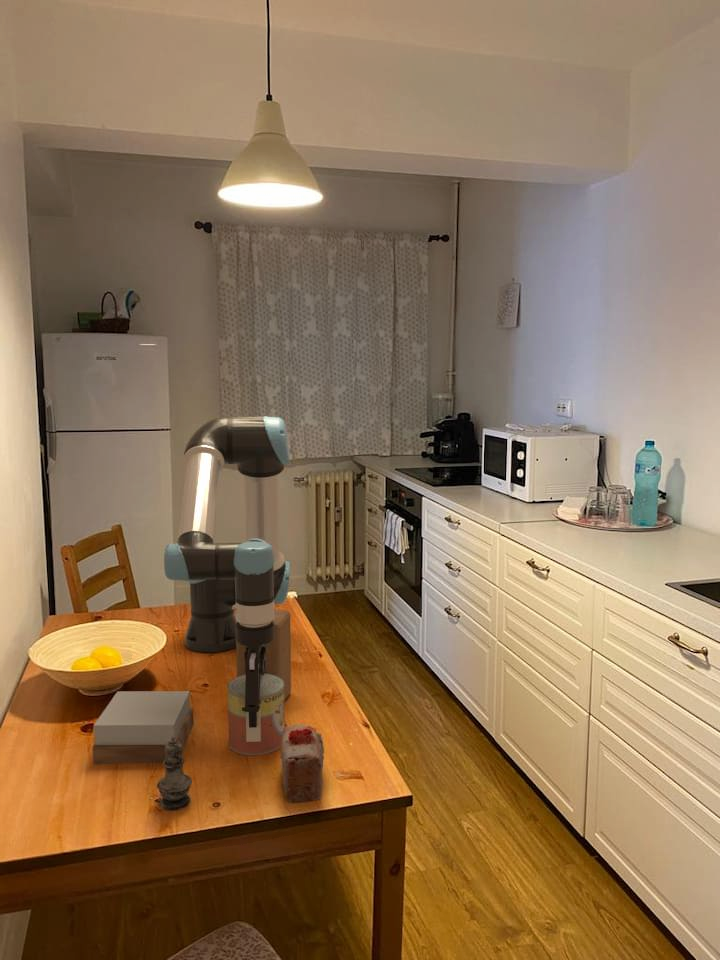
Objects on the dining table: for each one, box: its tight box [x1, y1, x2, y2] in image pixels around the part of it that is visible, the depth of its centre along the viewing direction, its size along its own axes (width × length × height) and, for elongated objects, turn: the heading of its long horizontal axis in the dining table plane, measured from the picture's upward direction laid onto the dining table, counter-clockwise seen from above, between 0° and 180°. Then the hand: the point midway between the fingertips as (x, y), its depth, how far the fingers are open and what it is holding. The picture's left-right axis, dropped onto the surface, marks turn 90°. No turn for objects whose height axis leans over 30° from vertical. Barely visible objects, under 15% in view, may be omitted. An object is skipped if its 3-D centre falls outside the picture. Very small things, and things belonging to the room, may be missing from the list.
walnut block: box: [92, 707, 195, 765], centre depth 149 cm, size 16×16×4 cm
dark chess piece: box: [156, 737, 193, 812], centre depth 128 cm, size 6×6×12 cm
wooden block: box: [235, 609, 292, 702], centre depth 168 cm, size 10×10×20 cm
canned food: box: [226, 673, 285, 756], centre depth 150 cm, size 11×11×12 cm
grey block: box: [93, 690, 191, 745], centre depth 149 cm, size 15×15×4 cm
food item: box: [280, 723, 325, 803], centre depth 135 cm, size 14×8×10 cm, turn 9°
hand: (256, 726), depth 150 cm, fingers closed on canned food, 11 cm apart
